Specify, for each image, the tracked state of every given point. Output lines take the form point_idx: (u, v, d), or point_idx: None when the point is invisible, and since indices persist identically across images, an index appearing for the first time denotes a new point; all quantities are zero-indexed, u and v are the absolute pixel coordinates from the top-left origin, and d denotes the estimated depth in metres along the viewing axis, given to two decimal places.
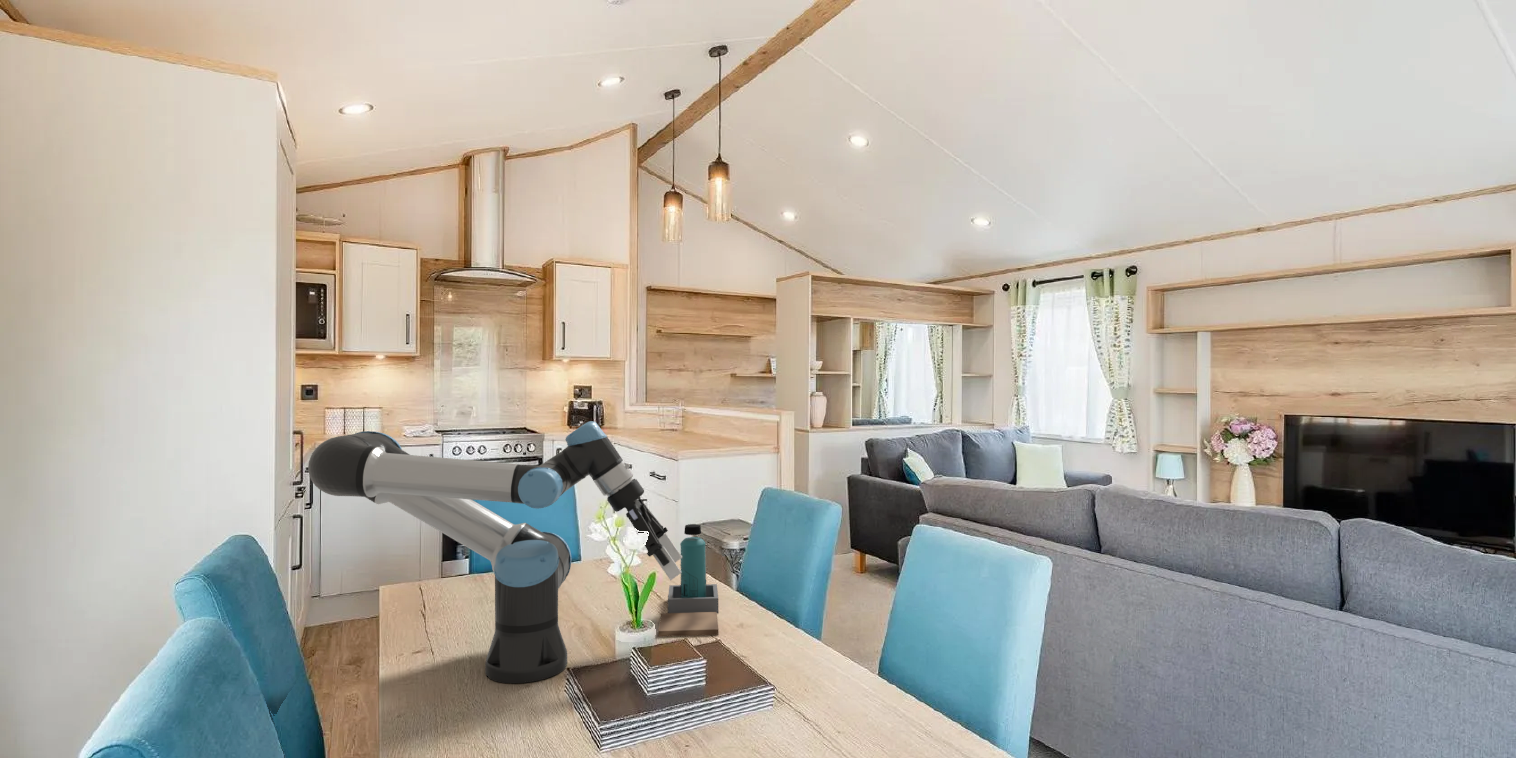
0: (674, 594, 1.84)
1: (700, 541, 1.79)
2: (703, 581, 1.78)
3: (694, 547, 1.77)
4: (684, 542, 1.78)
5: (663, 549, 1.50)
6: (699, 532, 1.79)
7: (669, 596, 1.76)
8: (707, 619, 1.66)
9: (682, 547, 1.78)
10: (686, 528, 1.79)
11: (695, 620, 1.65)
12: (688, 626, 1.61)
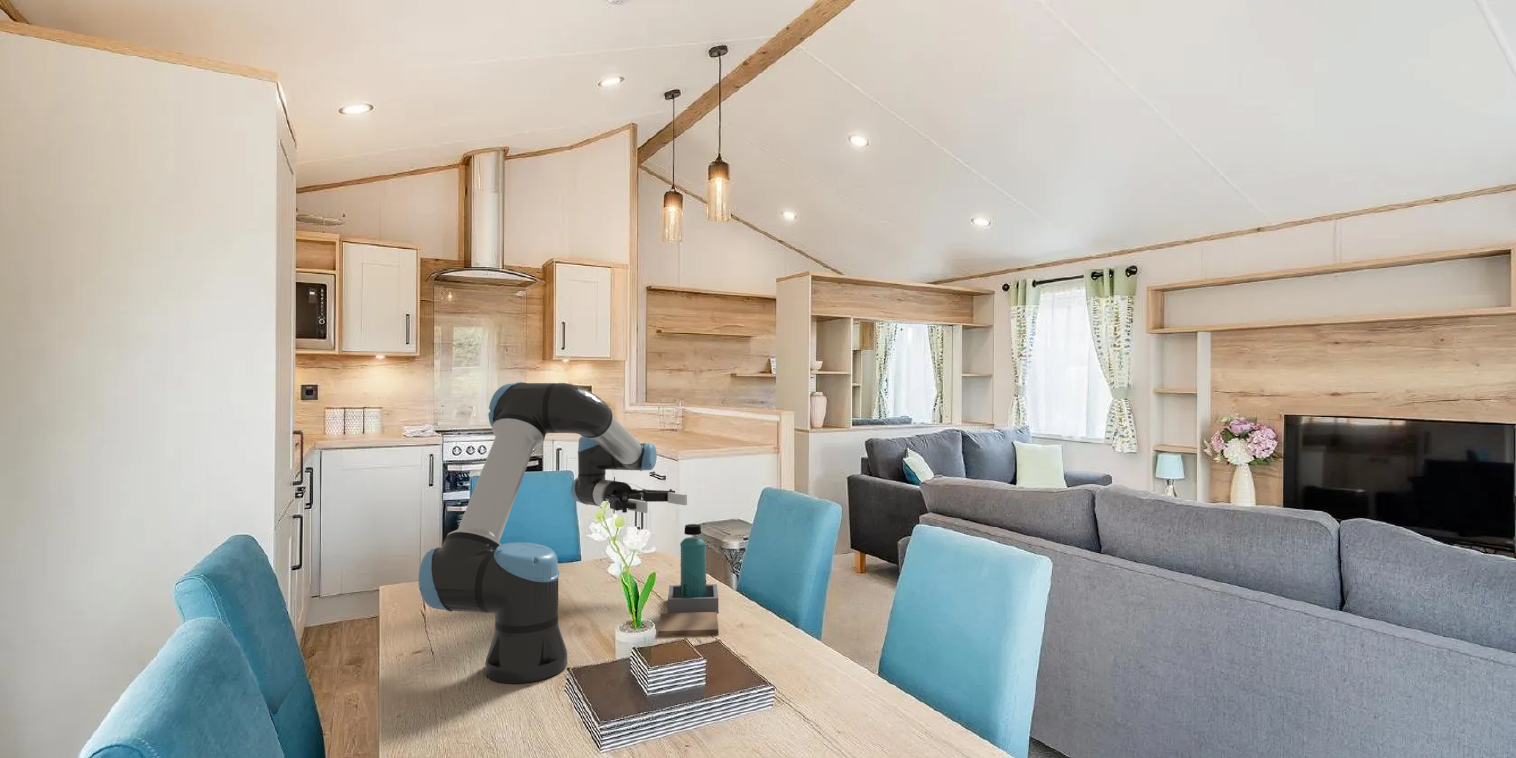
0: (674, 594, 1.84)
1: (700, 541, 1.79)
2: (703, 581, 1.78)
3: (694, 547, 1.77)
4: (684, 542, 1.78)
5: None
6: (699, 532, 1.79)
7: (669, 596, 1.76)
8: (707, 619, 1.66)
9: (682, 547, 1.78)
10: (686, 528, 1.79)
11: (695, 620, 1.65)
12: (688, 626, 1.61)
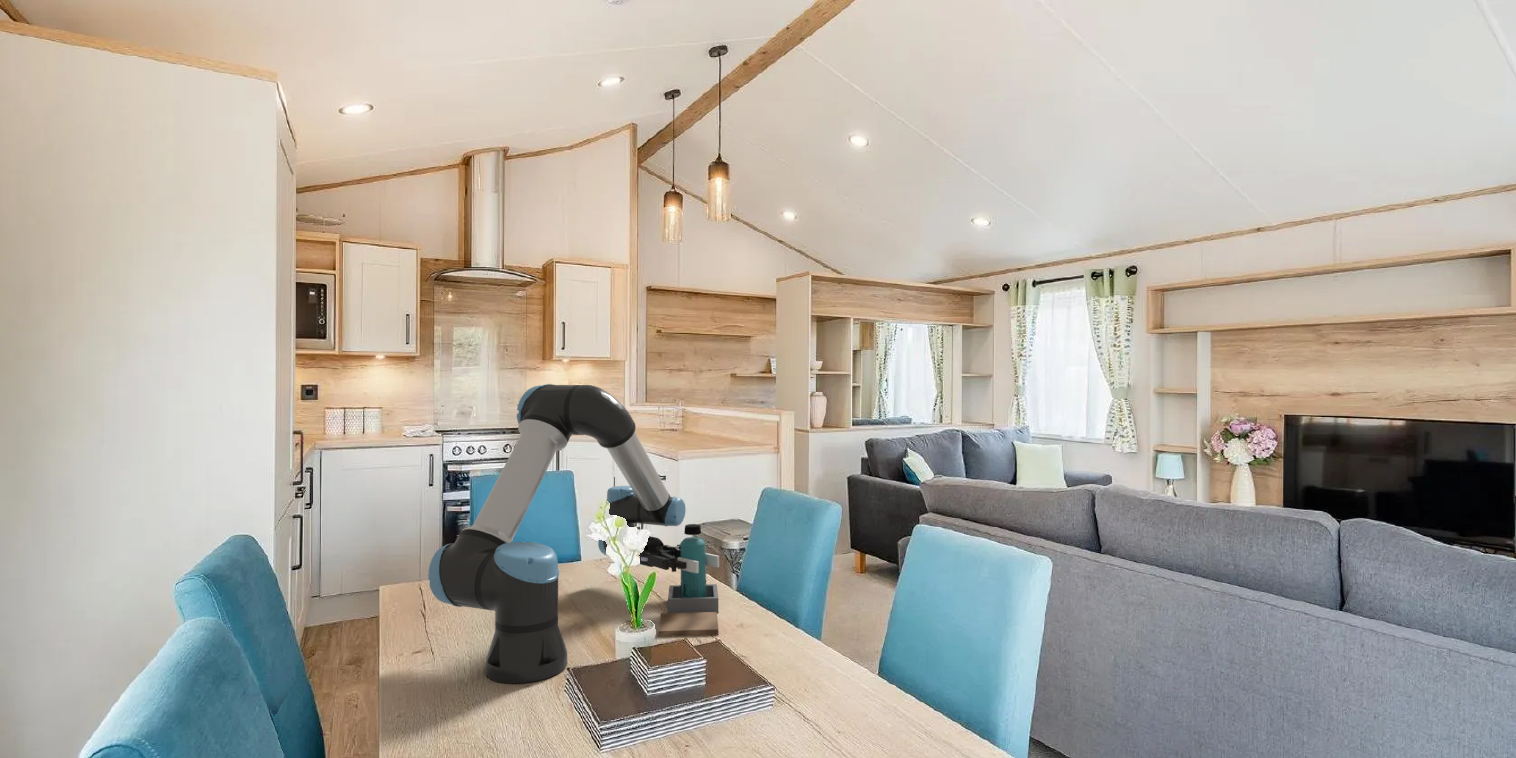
0: (674, 594, 1.84)
1: (700, 541, 1.79)
2: (703, 581, 1.78)
3: (694, 547, 1.77)
4: (684, 542, 1.78)
5: None
6: (699, 532, 1.79)
7: (669, 596, 1.76)
8: (707, 619, 1.66)
9: (682, 547, 1.78)
10: (686, 528, 1.79)
11: (695, 620, 1.65)
12: (688, 626, 1.61)
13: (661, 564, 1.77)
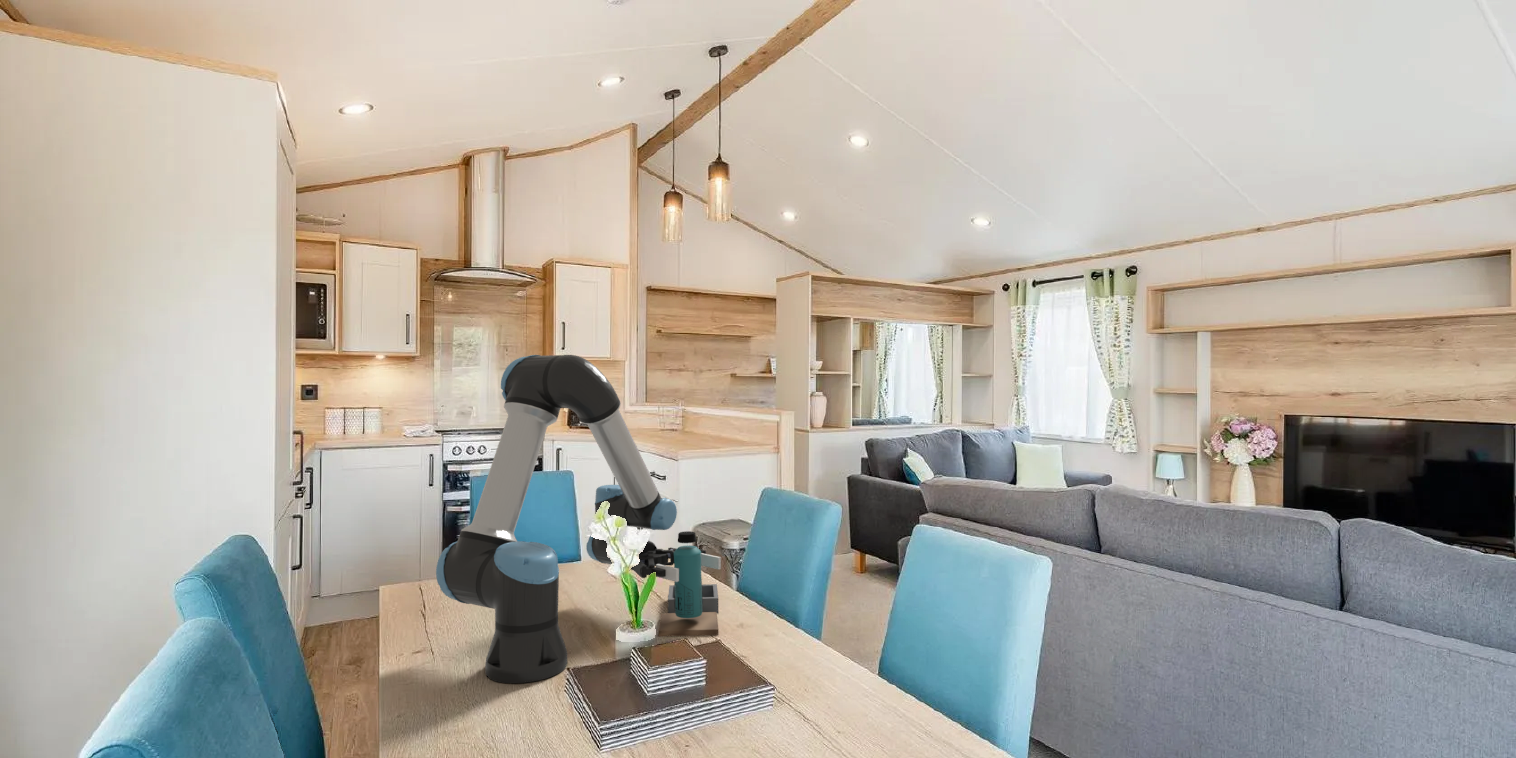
0: (674, 594, 1.84)
1: (695, 550, 1.64)
2: (699, 593, 1.64)
3: (688, 557, 1.62)
4: (677, 551, 1.63)
5: None
6: (694, 540, 1.64)
7: (669, 596, 1.76)
8: (707, 619, 1.66)
9: (675, 557, 1.63)
10: (679, 536, 1.64)
11: (695, 620, 1.65)
12: (688, 626, 1.61)
13: (639, 571, 1.61)
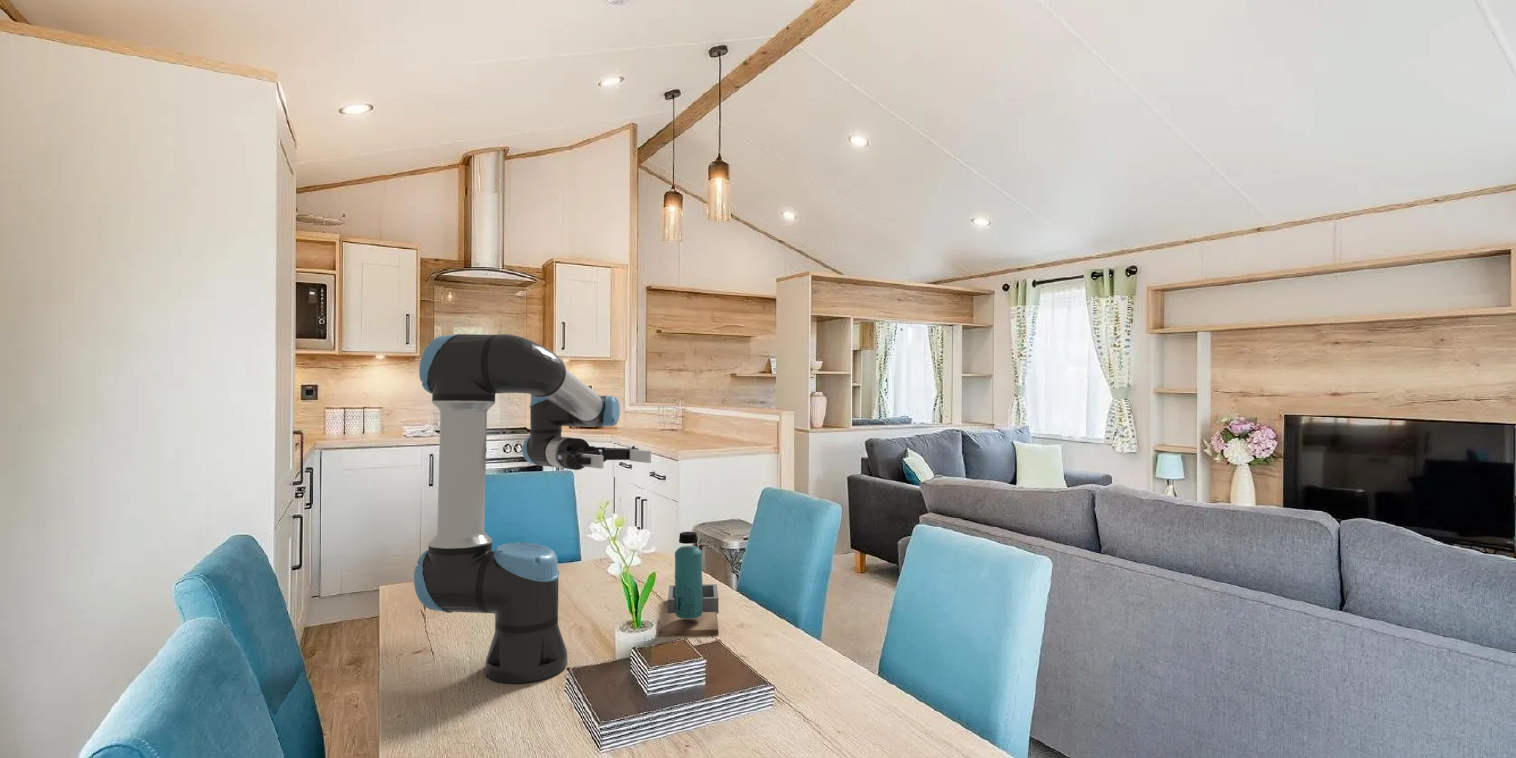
0: None
1: (696, 550, 1.64)
2: (699, 594, 1.63)
3: (689, 557, 1.62)
4: (679, 551, 1.63)
5: None
6: (695, 540, 1.64)
7: (669, 596, 1.76)
8: (707, 619, 1.66)
9: (676, 557, 1.63)
10: (681, 536, 1.64)
11: (695, 620, 1.65)
12: (688, 626, 1.61)
13: (565, 460, 1.61)
